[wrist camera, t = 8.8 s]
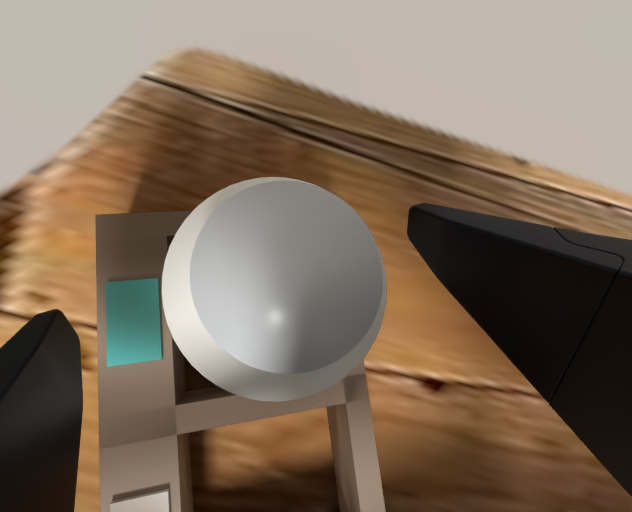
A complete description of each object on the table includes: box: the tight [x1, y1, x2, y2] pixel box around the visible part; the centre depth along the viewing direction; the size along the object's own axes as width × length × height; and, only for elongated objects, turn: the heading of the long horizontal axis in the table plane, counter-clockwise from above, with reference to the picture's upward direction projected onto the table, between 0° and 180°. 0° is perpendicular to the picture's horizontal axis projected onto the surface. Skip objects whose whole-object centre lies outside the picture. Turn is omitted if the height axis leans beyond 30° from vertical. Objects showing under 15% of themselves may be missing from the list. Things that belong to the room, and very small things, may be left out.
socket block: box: [96, 210, 386, 512], centre depth 15 cm, size 16×10×4 cm, turn 7°
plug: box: [162, 177, 387, 402], centre depth 12 cm, size 4×4×12 cm
